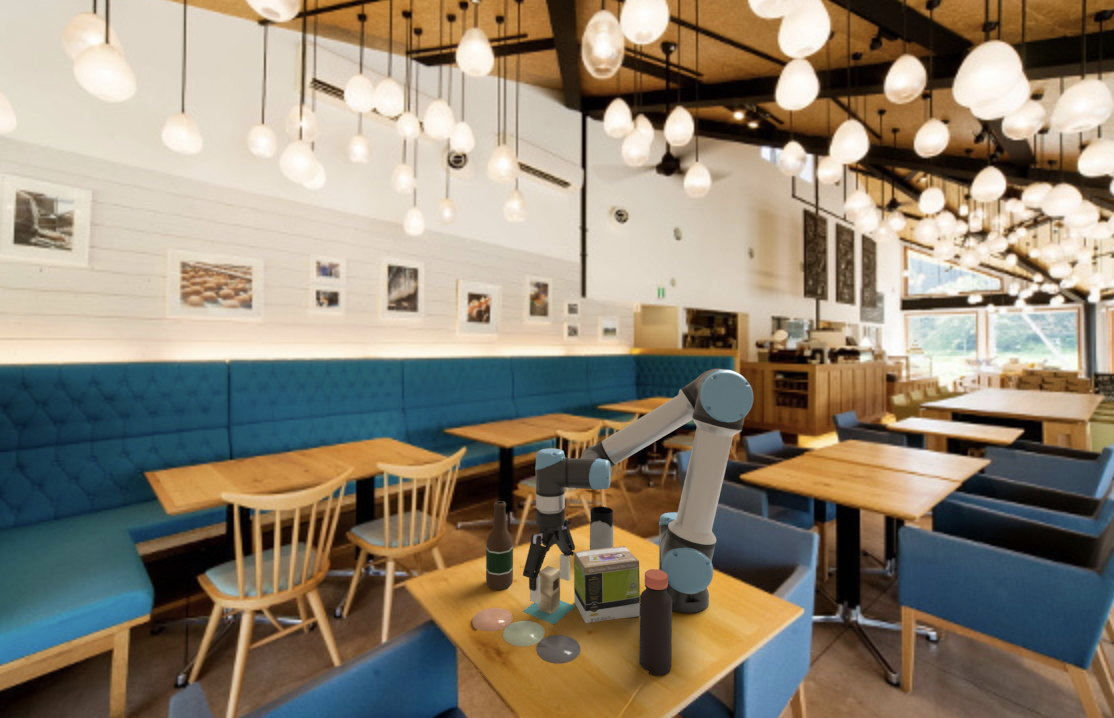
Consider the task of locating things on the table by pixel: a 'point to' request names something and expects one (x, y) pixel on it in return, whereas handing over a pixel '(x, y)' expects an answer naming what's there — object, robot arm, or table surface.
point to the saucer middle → (523, 633)
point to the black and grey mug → (601, 528)
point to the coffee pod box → (606, 584)
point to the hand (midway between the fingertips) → (550, 589)
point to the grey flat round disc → (558, 649)
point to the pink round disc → (492, 619)
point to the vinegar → (656, 624)
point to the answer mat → (547, 617)
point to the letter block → (549, 589)
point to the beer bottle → (499, 551)
